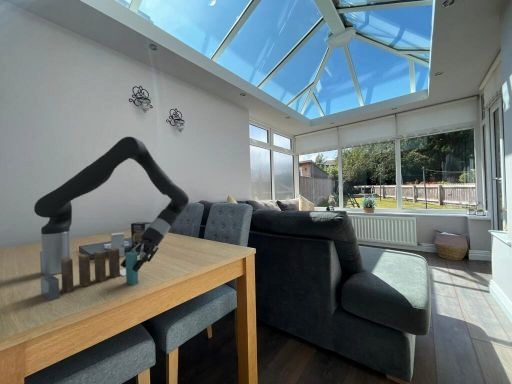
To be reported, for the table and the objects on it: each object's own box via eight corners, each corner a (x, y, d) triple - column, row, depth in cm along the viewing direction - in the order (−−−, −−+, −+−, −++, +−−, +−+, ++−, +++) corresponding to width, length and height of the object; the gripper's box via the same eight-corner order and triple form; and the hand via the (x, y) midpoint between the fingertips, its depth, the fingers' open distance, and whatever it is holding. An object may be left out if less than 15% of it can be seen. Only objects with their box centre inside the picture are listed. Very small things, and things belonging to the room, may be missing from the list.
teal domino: (133, 285, 80) (132, 254, 79) (126, 282, 82) (125, 253, 82) (138, 283, 81) (137, 253, 81) (131, 280, 84) (130, 251, 84)
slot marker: (123, 276, 88) (123, 275, 88) (114, 272, 93) (114, 272, 93) (140, 270, 94) (140, 270, 94) (131, 267, 99) (131, 267, 99)
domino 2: (84, 287, 79) (83, 256, 79) (79, 284, 82) (78, 254, 82) (90, 285, 81) (89, 255, 80) (85, 282, 83) (84, 253, 83)
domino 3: (100, 282, 83) (99, 253, 83) (95, 279, 86) (94, 251, 86) (106, 280, 85) (104, 252, 85) (100, 278, 88) (99, 250, 87)
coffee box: (131, 251, 127) (130, 223, 127) (138, 248, 134) (137, 221, 133) (145, 251, 126) (144, 223, 126) (152, 248, 132) (151, 221, 132)
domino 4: (115, 277, 87) (114, 250, 87) (109, 275, 90) (108, 248, 90) (120, 276, 89) (118, 249, 89) (114, 273, 92) (113, 247, 92)
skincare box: (111, 258, 114) (110, 235, 114) (111, 256, 118) (110, 233, 118) (125, 256, 118) (124, 233, 118) (124, 254, 122) (123, 232, 122)
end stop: (49, 300, 70) (48, 281, 70) (41, 294, 75) (40, 276, 75) (59, 297, 72) (58, 279, 72) (51, 291, 77) (50, 274, 77)
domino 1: (67, 293, 75) (65, 260, 75) (62, 289, 78) (60, 258, 78) (73, 291, 76) (72, 259, 76) (68, 287, 79) (67, 257, 79)
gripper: (140, 225, 92) (110, 260, 82) (160, 227, 84) (130, 266, 74) (152, 235, 96) (126, 270, 87) (172, 238, 88) (146, 277, 79)
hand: (128, 268), depth 81 cm, fingers open, 8 cm apart
